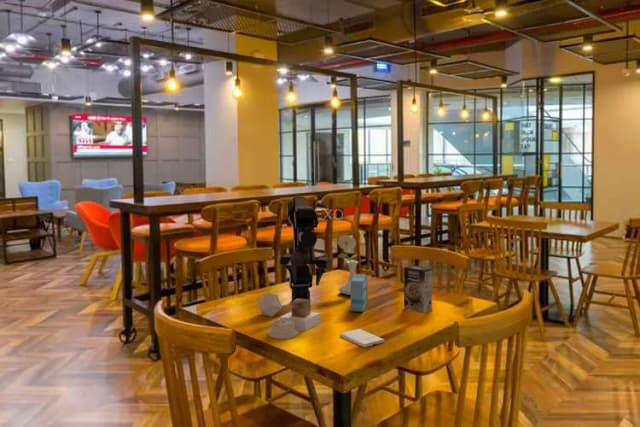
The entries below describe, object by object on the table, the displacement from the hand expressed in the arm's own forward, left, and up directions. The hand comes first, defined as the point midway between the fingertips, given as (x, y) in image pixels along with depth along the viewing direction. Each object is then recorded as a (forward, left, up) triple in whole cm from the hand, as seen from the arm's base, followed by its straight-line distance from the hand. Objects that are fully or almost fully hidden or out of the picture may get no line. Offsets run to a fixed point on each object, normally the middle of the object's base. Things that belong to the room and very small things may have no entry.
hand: (305, 284), depth 201 cm
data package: (+15, +16, -12) cm, 25 cm away
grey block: (+3, -12, -12) cm, 17 cm away
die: (-13, -4, -12) cm, 18 cm away
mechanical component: (+2, -22, -12) cm, 26 cm away
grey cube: (+3, -11, -8) cm, 14 cm away
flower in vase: (+4, +36, -12) cm, 38 cm away
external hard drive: (+28, -18, -12) cm, 35 cm away
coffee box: (+36, +23, -12) cm, 44 cm away
